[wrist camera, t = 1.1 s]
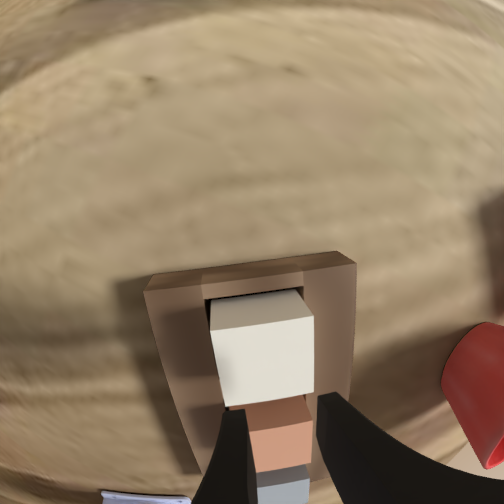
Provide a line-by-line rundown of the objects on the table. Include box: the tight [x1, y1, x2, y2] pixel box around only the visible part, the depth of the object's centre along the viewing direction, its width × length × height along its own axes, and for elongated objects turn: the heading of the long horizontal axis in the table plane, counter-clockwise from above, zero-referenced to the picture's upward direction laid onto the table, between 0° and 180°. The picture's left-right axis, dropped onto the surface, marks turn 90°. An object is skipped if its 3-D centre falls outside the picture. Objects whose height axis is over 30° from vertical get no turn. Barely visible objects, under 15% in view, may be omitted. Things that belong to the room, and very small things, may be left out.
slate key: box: [256, 464, 310, 504], centre depth 16 cm, size 4×4×3 cm
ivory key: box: [210, 289, 314, 407], centre depth 13 cm, size 4×4×3 cm
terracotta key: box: [229, 394, 313, 473], centre depth 15 cm, size 4×4×3 cm
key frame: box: [143, 251, 357, 482], centre depth 17 cm, size 10×18×2 cm, turn 6°
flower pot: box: [441, 322, 504, 469], centre depth 16 cm, size 11×11×10 cm
